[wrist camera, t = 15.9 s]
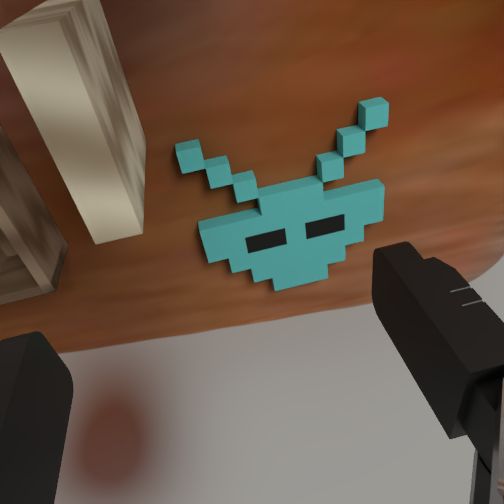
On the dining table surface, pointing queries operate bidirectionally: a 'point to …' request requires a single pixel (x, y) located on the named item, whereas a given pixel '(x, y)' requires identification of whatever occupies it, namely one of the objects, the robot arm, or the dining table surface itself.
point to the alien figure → (292, 210)
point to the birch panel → (82, 110)
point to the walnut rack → (25, 233)
